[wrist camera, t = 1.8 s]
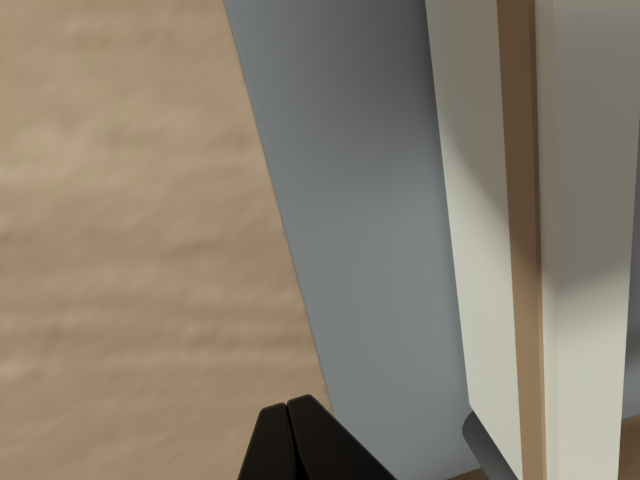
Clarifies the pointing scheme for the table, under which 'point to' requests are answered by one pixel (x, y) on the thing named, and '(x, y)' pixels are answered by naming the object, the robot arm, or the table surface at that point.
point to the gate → (541, 218)
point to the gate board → (377, 224)
